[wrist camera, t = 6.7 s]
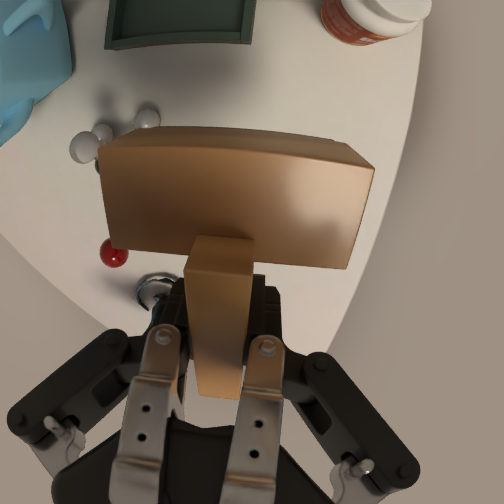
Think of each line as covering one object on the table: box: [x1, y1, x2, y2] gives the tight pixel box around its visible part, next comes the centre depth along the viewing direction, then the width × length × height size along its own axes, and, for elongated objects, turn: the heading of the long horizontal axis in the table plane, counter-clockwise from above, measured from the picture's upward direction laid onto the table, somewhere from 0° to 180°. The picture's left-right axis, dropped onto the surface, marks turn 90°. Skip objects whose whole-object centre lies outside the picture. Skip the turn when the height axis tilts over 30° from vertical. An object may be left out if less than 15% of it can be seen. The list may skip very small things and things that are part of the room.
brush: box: [97, 126, 375, 400], centre depth 12 cm, size 11×9×7 cm
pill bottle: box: [321, 0, 432, 46], centre depth 13 cm, size 6×6×11 cm
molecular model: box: [69, 109, 160, 268], centre depth 23 cm, size 8×12×11 cm
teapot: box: [0, 0, 72, 147], centre depth 13 cm, size 18×16×14 cm
